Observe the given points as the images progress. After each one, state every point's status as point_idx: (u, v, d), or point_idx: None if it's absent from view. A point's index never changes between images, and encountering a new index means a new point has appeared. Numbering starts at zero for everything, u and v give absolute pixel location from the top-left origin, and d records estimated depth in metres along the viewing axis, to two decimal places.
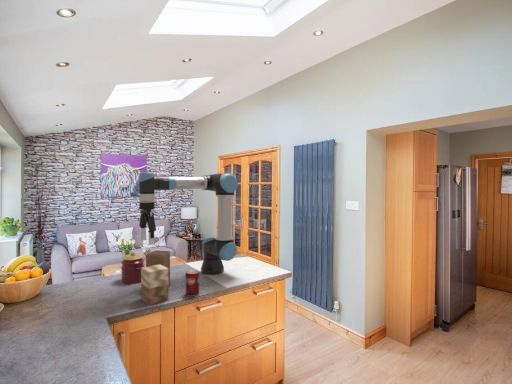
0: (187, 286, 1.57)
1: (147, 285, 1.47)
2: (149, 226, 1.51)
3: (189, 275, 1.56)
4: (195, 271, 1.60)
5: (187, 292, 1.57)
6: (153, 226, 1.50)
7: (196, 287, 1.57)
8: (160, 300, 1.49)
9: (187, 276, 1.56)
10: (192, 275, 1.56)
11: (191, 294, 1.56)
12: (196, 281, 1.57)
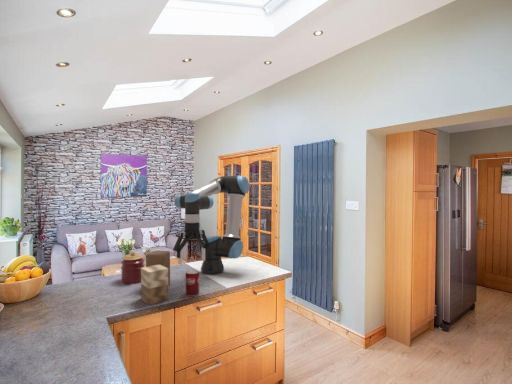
0: (187, 286, 1.57)
1: (147, 285, 1.47)
2: (179, 245, 1.55)
3: (189, 275, 1.56)
4: (195, 271, 1.60)
5: (187, 292, 1.57)
6: (175, 246, 1.52)
7: (196, 287, 1.57)
8: (160, 300, 1.49)
9: (187, 276, 1.56)
10: (192, 275, 1.56)
11: (191, 294, 1.56)
12: (196, 281, 1.57)
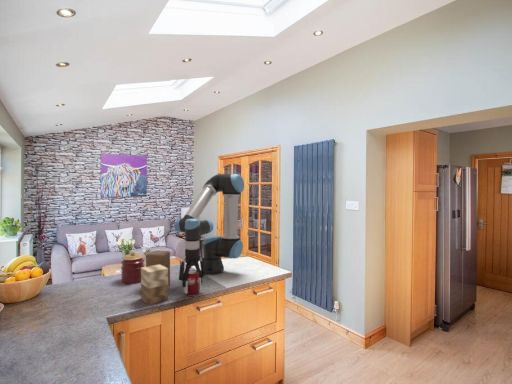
0: None
1: (147, 285, 1.47)
2: None
3: (189, 275, 1.56)
4: (195, 271, 1.60)
5: None
6: (180, 276, 1.55)
7: (196, 287, 1.57)
8: (160, 300, 1.49)
9: (187, 276, 1.56)
10: (192, 275, 1.56)
11: (191, 294, 1.56)
12: (196, 281, 1.57)
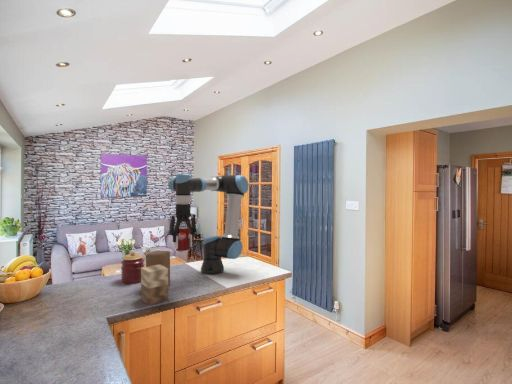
0: (178, 241, 1.54)
1: (147, 285, 1.47)
2: None
3: (180, 230, 1.53)
4: (186, 227, 1.57)
5: (178, 247, 1.54)
6: (170, 230, 1.52)
7: (187, 242, 1.54)
8: (160, 300, 1.49)
9: (178, 231, 1.54)
10: (183, 230, 1.53)
11: (182, 249, 1.53)
12: (187, 236, 1.54)
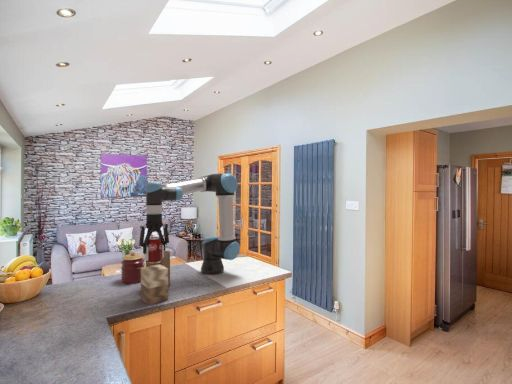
0: (148, 252, 1.49)
1: (147, 285, 1.47)
2: (144, 240, 1.49)
3: (150, 241, 1.48)
4: (157, 238, 1.52)
5: (148, 259, 1.49)
6: (140, 241, 1.47)
7: (158, 254, 1.49)
8: (160, 300, 1.49)
9: (148, 242, 1.49)
10: (153, 241, 1.48)
11: (152, 261, 1.48)
12: (158, 247, 1.49)
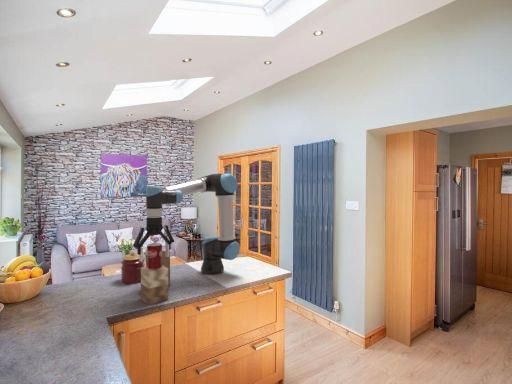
0: (148, 259, 1.49)
1: (147, 285, 1.47)
2: (140, 241, 1.48)
3: (150, 247, 1.48)
4: (157, 244, 1.52)
5: (148, 265, 1.49)
6: (135, 242, 1.45)
7: (158, 260, 1.50)
8: (160, 300, 1.49)
9: (148, 249, 1.49)
10: (153, 247, 1.48)
11: (152, 267, 1.49)
12: (158, 254, 1.49)
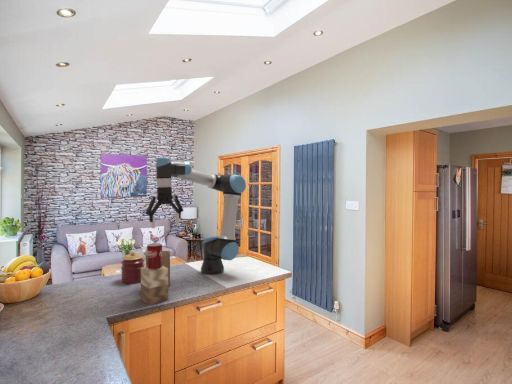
0: (148, 259, 1.49)
1: (147, 285, 1.47)
2: None
3: (150, 247, 1.48)
4: (157, 244, 1.53)
5: (148, 265, 1.49)
6: (147, 210, 1.54)
7: (158, 260, 1.50)
8: (160, 300, 1.49)
9: (148, 249, 1.49)
10: (153, 247, 1.48)
11: (152, 267, 1.49)
12: (158, 254, 1.49)
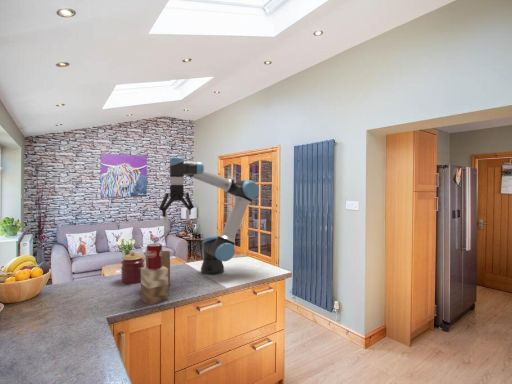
0: (148, 259, 1.49)
1: (147, 285, 1.47)
2: None
3: (150, 248, 1.48)
4: (157, 244, 1.52)
5: (148, 266, 1.49)
6: (161, 205, 1.66)
7: (158, 260, 1.49)
8: (160, 300, 1.49)
9: (148, 249, 1.49)
10: (153, 248, 1.48)
11: (152, 268, 1.48)
12: (158, 254, 1.49)
